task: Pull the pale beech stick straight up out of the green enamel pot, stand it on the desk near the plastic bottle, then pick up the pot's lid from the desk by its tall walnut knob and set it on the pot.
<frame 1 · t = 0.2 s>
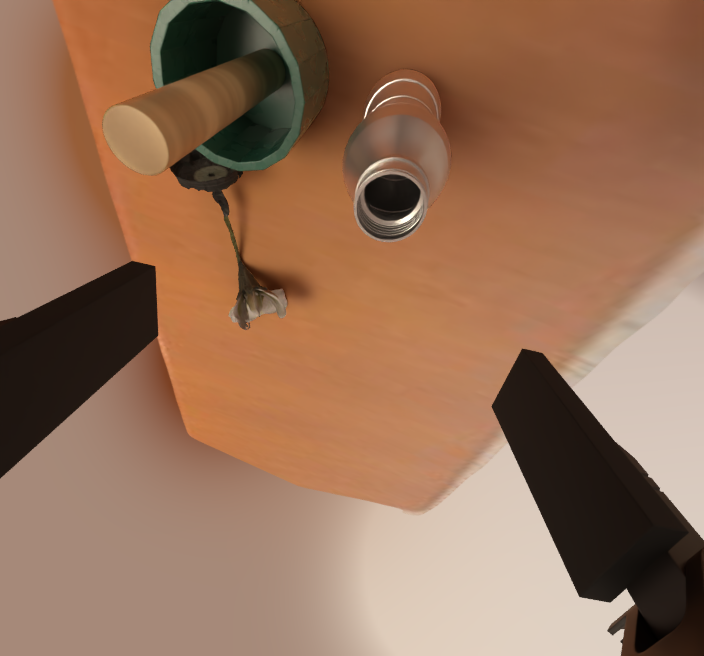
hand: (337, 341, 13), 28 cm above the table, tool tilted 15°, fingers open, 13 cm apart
artificial flower: (252, 243, 44), on the table
pot: (270, 69, 31), on the table
stick: (268, 70, 30), resting on pot
plastic bottle: (402, 109, 32), on the table
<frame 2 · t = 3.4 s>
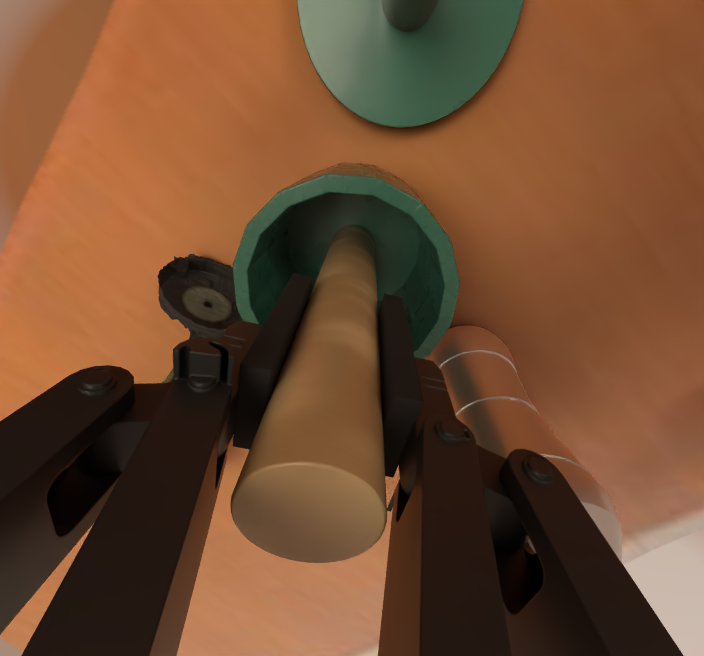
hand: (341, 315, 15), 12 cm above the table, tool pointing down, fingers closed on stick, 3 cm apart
lid: (408, 1, 18), point 1 cm above the table
artificial flower: (196, 377, 31), on the table
pot: (353, 244, 25), on the table
stick: (353, 246, 24), point 1 cm above the table, touching gripper, pot
plastic bottle: (457, 349, 29), on the table
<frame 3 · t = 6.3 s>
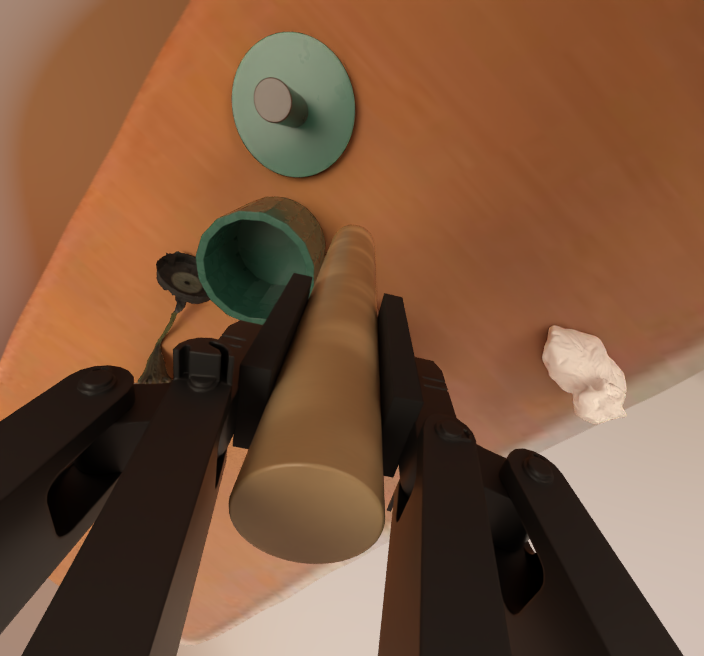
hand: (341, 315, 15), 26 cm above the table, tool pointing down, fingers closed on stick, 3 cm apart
lid: (294, 110, 33), point 1 cm above the table
artificial flower: (182, 336, 46), on the table
pot: (279, 245, 39), on the table
stick: (353, 246, 24), point 15 cm above the table, touching gripper
bust: (565, 351, 45), on the table
when the fingers open (11 cm above the table, at t = 9.0 s): stick stays where it is, on the table.
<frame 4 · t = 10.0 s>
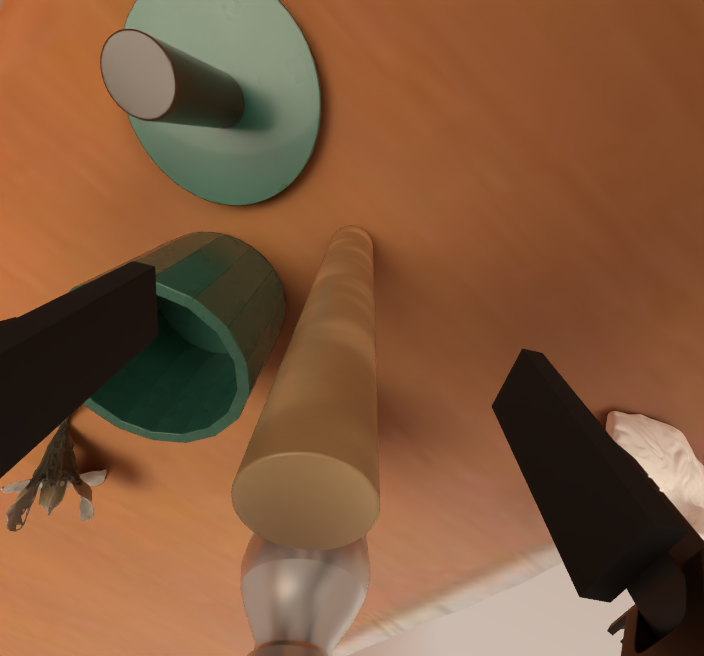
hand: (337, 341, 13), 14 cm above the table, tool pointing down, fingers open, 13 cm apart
lid: (224, 101, 20), point 1 cm above the table
artificial flower: (96, 412, 33), on the table
pot: (219, 300, 27), on the table
stick: (351, 247, 25), on the table
plastic bottle: (331, 390, 31), on the table
bust: (625, 440, 32), on the table
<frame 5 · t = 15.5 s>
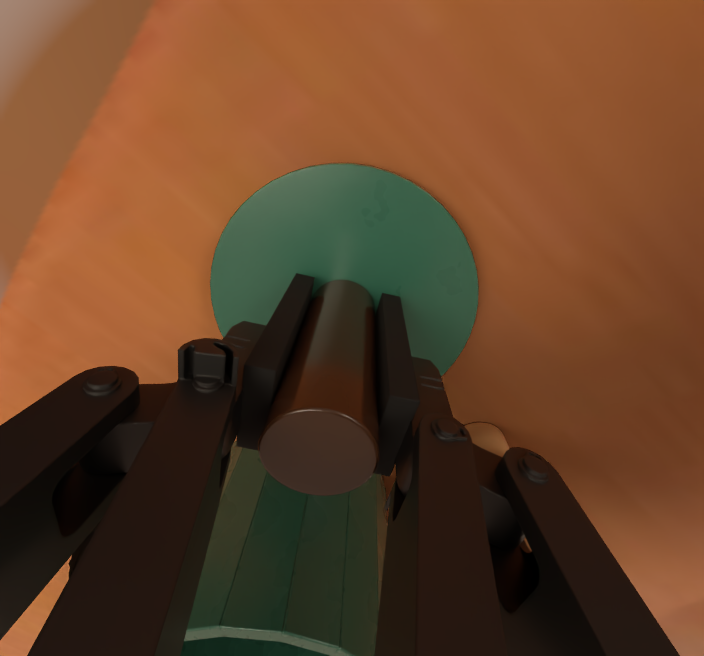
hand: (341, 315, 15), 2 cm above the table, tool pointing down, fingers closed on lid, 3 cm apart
lid: (343, 304, 16), point 1 cm above the table, touching gripper
artificial flower: (138, 575, 29), on the table
pot: (301, 485, 22), on the table
stick: (476, 442, 20), on the table
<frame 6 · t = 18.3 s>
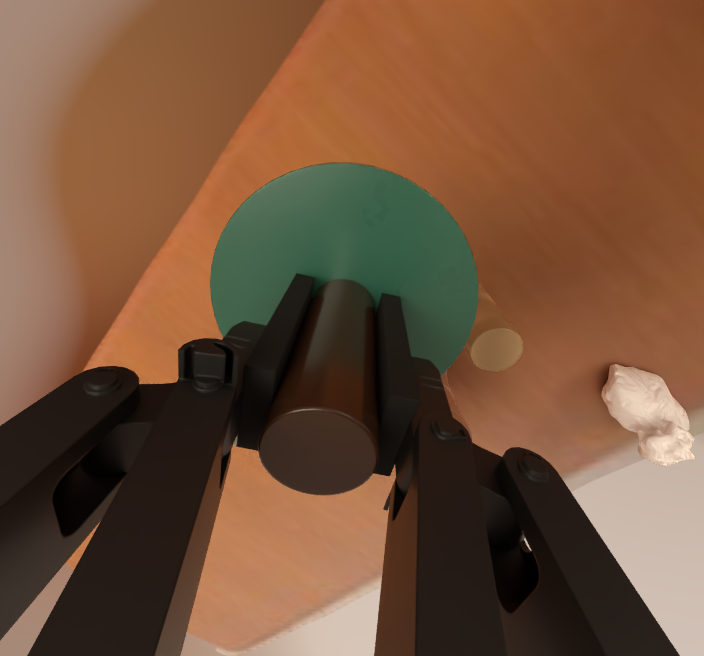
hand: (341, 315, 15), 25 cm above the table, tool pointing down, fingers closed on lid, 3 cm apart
lid: (343, 303, 16), point 24 cm above the table, touching gripper
stick: (439, 254, 38), on the table
plastic bottle: (415, 353, 44), on the table
bust: (623, 387, 45), on the table
when the fingers open (11 cm above the table, at t = 21.4 s): lid stays where it is, resting on pot.
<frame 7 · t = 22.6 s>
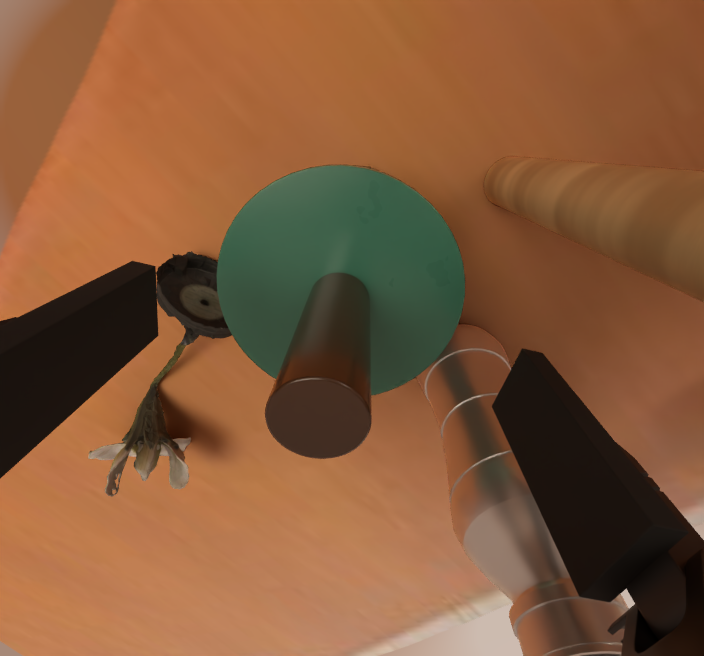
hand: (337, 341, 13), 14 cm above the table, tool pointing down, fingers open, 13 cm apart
lid: (340, 295, 17), point 9 cm above the table, touching pot
artificial flower: (189, 374, 31), on the table
stick: (507, 181, 23), on the table
plastic bottle: (453, 348, 29), on the table
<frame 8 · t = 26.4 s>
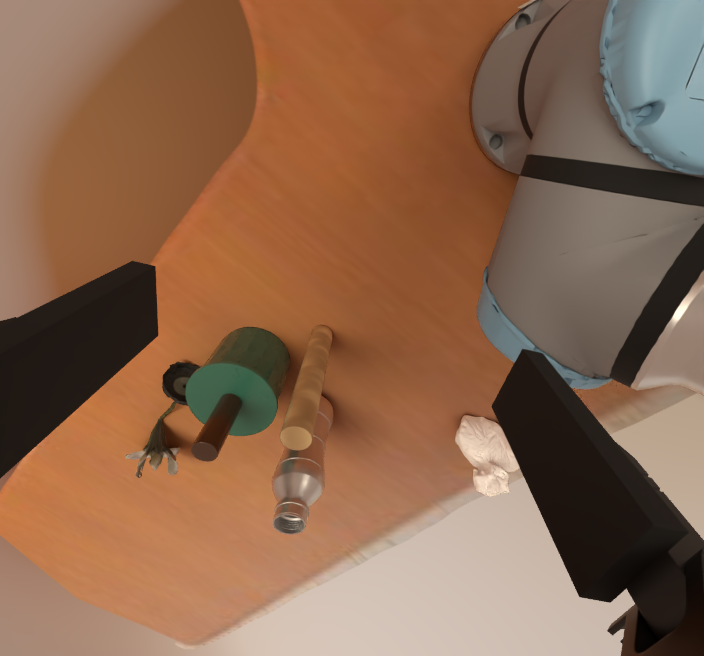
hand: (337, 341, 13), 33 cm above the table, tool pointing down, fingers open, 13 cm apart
lid: (232, 398, 44), point 9 cm above the table, touching pot
artificial flower: (179, 414, 59), on the table
pot: (255, 357, 52), on the table
stick: (322, 334, 50), on the table
plastic bottle: (314, 403, 56), on the table
bust: (478, 431, 57), on the table
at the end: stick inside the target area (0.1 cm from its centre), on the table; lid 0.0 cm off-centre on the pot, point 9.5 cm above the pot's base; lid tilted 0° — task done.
